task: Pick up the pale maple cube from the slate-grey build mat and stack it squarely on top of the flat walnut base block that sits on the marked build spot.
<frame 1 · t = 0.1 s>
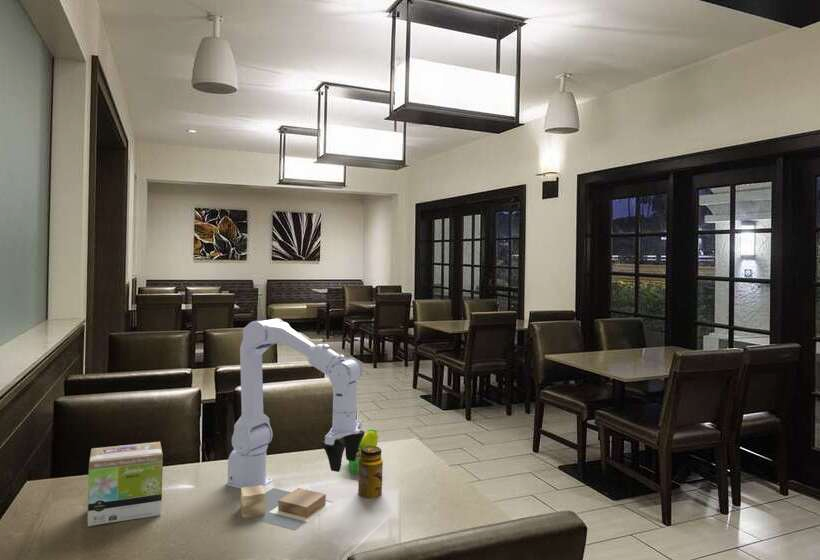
hand: (343, 465, 136), 10 cm above the table, tool pointing down, fingers open, 7 cm apart
tea box: (125, 513, 129), on the table
build mat: (283, 509, 134), on the table
maple cube: (252, 511, 131), resting on build mat
walnut base: (302, 507, 134), resting on build mat
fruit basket: (362, 468, 161), on the table
condiment: (366, 496, 143), on the table
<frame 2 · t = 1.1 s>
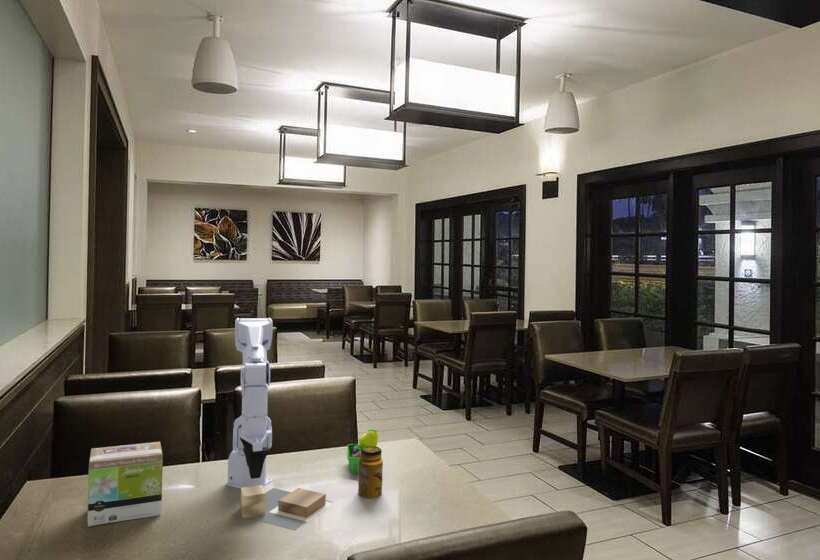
hand: (253, 471, 131), 10 cm above the table, tool pointing down, fingers open, 7 cm apart
nothing on the table moved.
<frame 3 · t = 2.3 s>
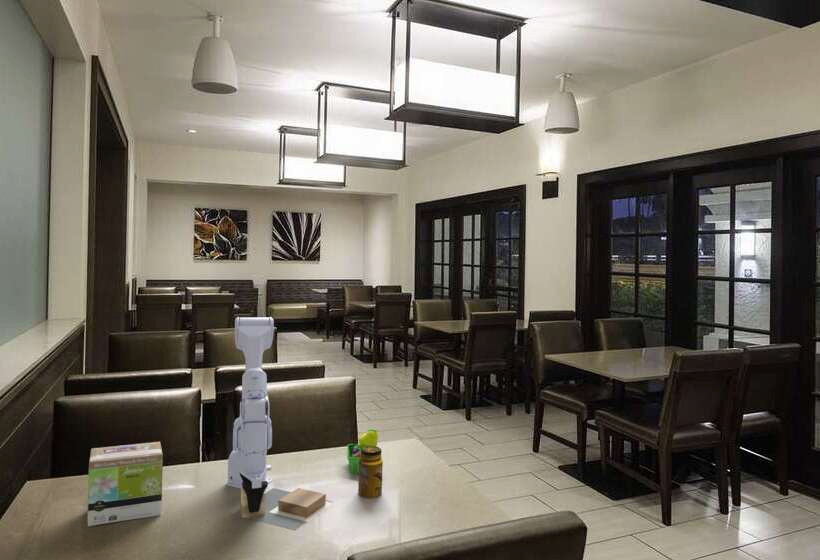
hand: (252, 506, 131), 2 cm above the table, tool pointing down, fingers closed on maple cube, 5 cm apart
maple cube: (252, 511, 131), resting on build mat, touching gripper
everything else where it was.
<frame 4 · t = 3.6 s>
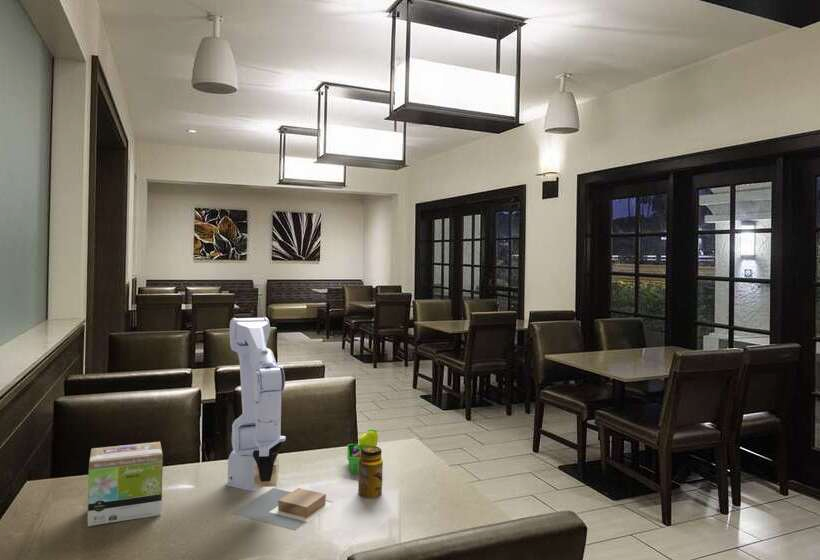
hand: (267, 476, 131), 9 cm above the table, tool pointing down, fingers closed on maple cube, 5 cm apart
maple cube: (266, 482, 131), point 7 cm above the table, touching gripper
everything else where it was.
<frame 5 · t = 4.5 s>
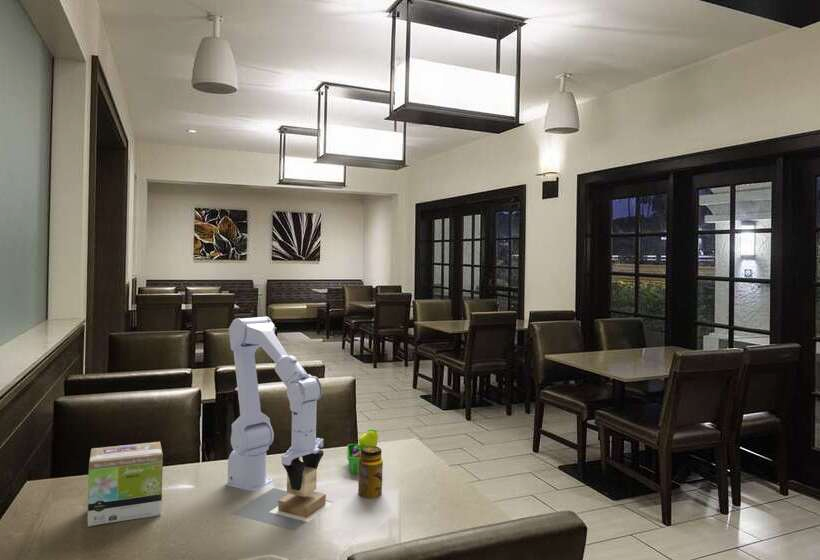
hand: (302, 485, 134), 6 cm above the table, tool pointing down, fingers closed on maple cube, 5 cm apart
maple cube: (301, 491, 134), point 4 cm above the table, touching gripper
everything else where it was.
when the fingers open (5 cm above the table, at t = 5.1 s): maple cube stays where it is, resting on walnut base.
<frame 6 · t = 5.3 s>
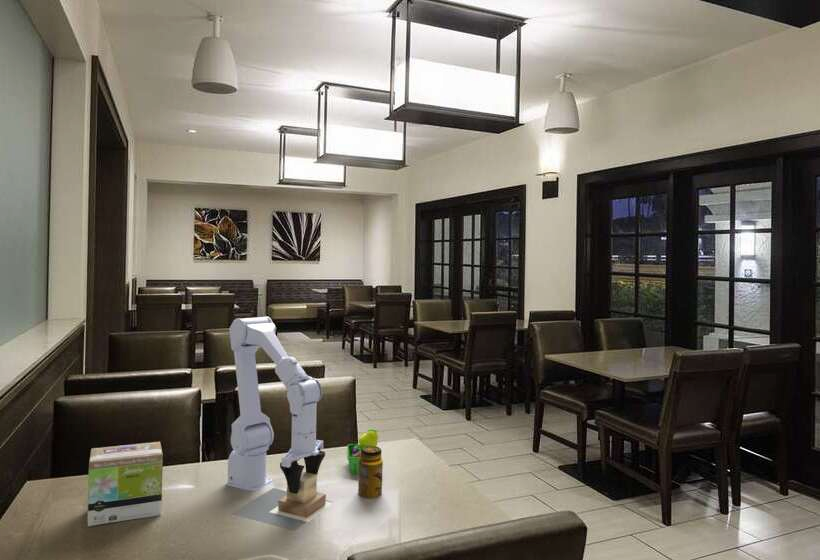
hand: (302, 486, 134), 5 cm above the table, tool pointing down, fingers open, 7 cm apart
maple cube: (301, 496, 134), point 3 cm above the table, touching walnut base
walnut base: (302, 507, 134), resting on build mat, touching maple cube
everything else where it was.
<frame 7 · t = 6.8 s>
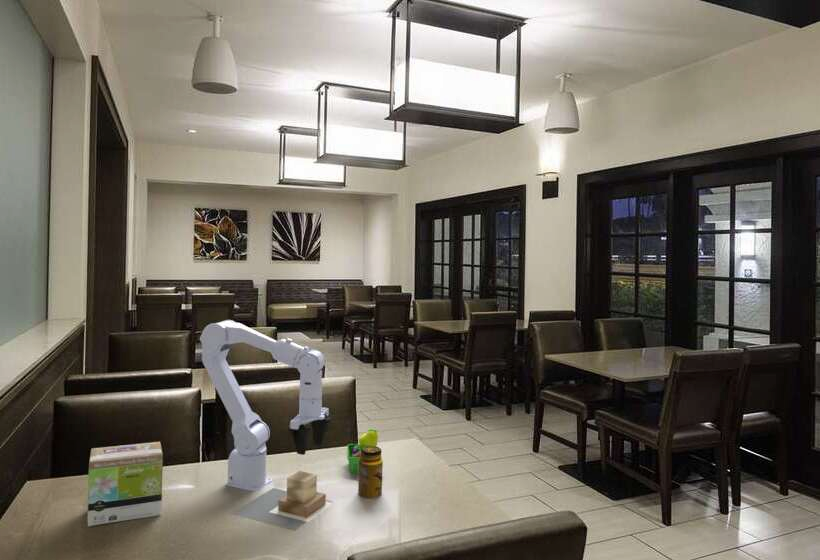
hand: (309, 449, 145), 10 cm above the table, tool pointing down, fingers open, 7 cm apart
nothing on the table moved.
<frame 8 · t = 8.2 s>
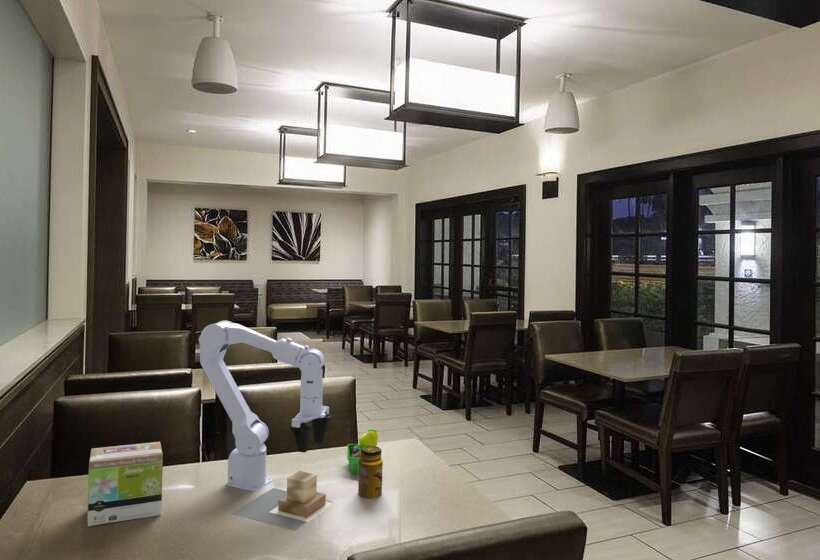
hand: (310, 447, 147), 10 cm above the table, tool pointing down, fingers open, 7 cm apart
nothing on the table moved.
at the end: maple cube 0.3 cm off-centre on the walnut base, point 2.5 cm above the walnut base's base; maple cube tilted 0°; walnut base moved 0.0 cm from its start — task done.
